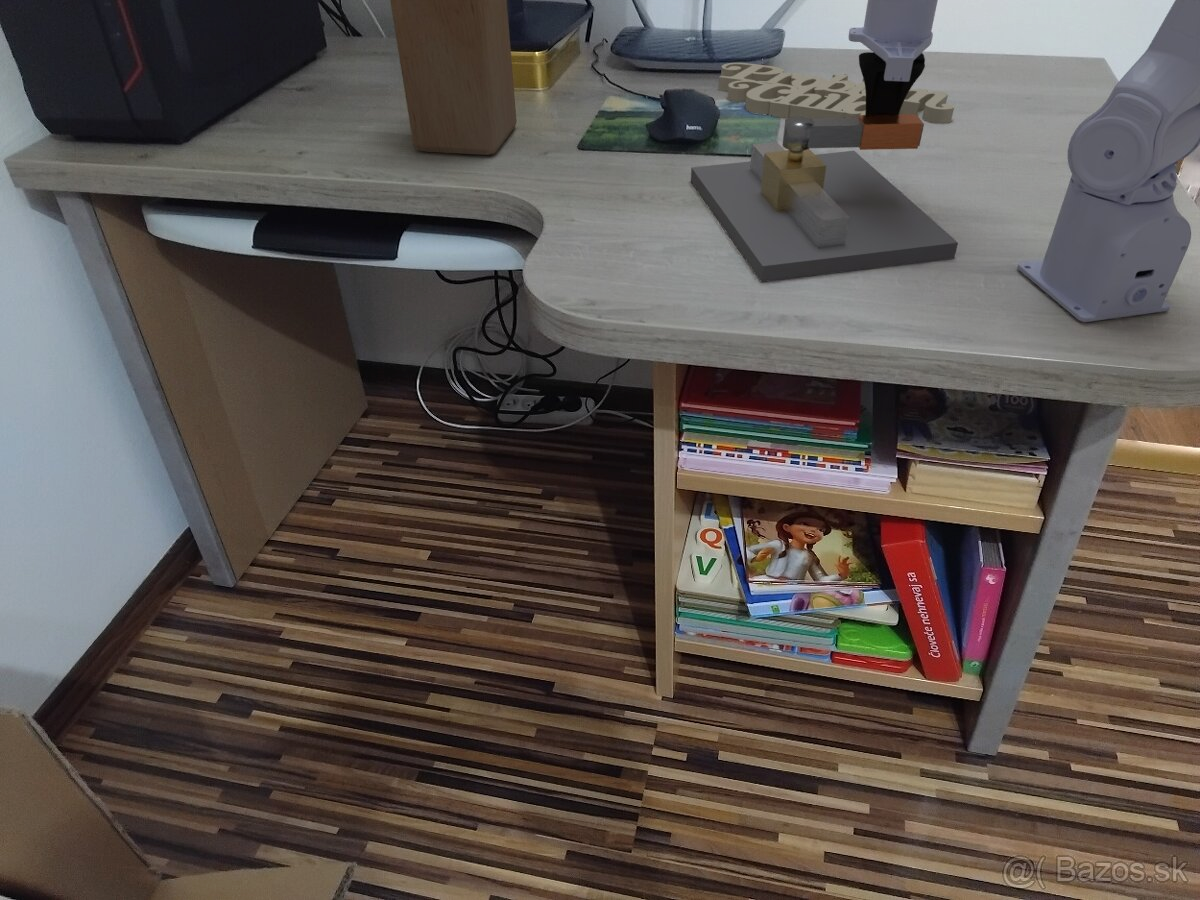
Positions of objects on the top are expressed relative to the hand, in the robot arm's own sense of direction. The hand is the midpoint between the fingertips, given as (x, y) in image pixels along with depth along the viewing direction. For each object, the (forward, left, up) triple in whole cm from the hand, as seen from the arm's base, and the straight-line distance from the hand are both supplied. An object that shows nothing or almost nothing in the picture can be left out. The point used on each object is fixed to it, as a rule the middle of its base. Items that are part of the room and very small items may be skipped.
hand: (877, 136), depth 83 cm
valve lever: (-1, +3, 0) cm, 4 cm away
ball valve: (-1, +8, -5) cm, 10 cm away
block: (+28, +37, -7) cm, 47 cm away
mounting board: (-1, +6, -7) cm, 9 cm away
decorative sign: (+28, -7, -7) cm, 30 cm away
